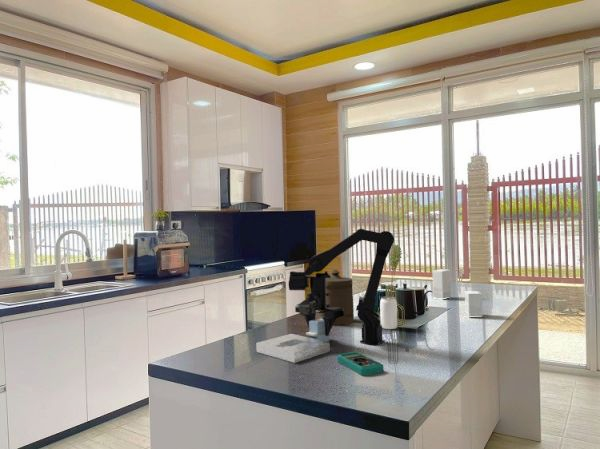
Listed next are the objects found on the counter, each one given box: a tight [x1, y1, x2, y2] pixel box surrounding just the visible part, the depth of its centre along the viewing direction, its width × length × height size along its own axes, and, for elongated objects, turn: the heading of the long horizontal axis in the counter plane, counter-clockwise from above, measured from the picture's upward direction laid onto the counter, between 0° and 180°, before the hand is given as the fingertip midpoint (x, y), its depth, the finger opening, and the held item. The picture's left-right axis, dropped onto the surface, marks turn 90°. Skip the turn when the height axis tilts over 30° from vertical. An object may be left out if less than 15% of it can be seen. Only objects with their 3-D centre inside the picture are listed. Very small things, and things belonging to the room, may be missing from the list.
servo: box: [305, 318, 333, 342], centre depth 159 cm, size 4×10×8 cm, turn 135°
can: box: [379, 295, 398, 330], centre depth 177 cm, size 6×6×12 cm
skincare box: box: [431, 268, 452, 298], centre depth 241 cm, size 8×7×16 cm
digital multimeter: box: [337, 351, 384, 377], centre depth 130 cm, size 7×15×3 cm, turn 24°
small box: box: [464, 290, 484, 317], centre depth 195 cm, size 8×6×10 cm
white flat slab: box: [255, 333, 331, 364], centre depth 147 cm, size 18×16×3 cm
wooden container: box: [318, 269, 355, 326], centre depth 191 cm, size 15×15×22 cm
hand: (319, 334), depth 159 cm, fingers open, 7 cm apart
